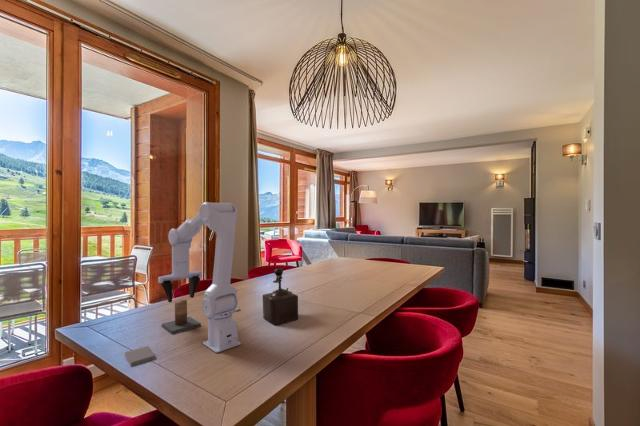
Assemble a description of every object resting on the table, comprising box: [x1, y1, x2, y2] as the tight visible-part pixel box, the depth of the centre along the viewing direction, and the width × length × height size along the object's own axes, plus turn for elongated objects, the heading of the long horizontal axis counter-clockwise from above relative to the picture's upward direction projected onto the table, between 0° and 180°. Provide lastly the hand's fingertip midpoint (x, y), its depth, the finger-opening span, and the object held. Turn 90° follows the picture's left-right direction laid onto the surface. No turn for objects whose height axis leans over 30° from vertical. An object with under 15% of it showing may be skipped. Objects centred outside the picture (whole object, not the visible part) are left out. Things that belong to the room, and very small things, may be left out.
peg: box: [174, 299, 188, 326], centre depth 107 cm, size 4×4×8 cm
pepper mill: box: [262, 267, 299, 327], centre depth 115 cm, size 16×11×18 cm
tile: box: [124, 345, 157, 367], centre depth 84 cm, size 2×6×8 cm
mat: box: [161, 316, 202, 335], centre depth 107 cm, size 10×10×1 cm
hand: (181, 299), depth 107 cm, fingers open, 7 cm apart
